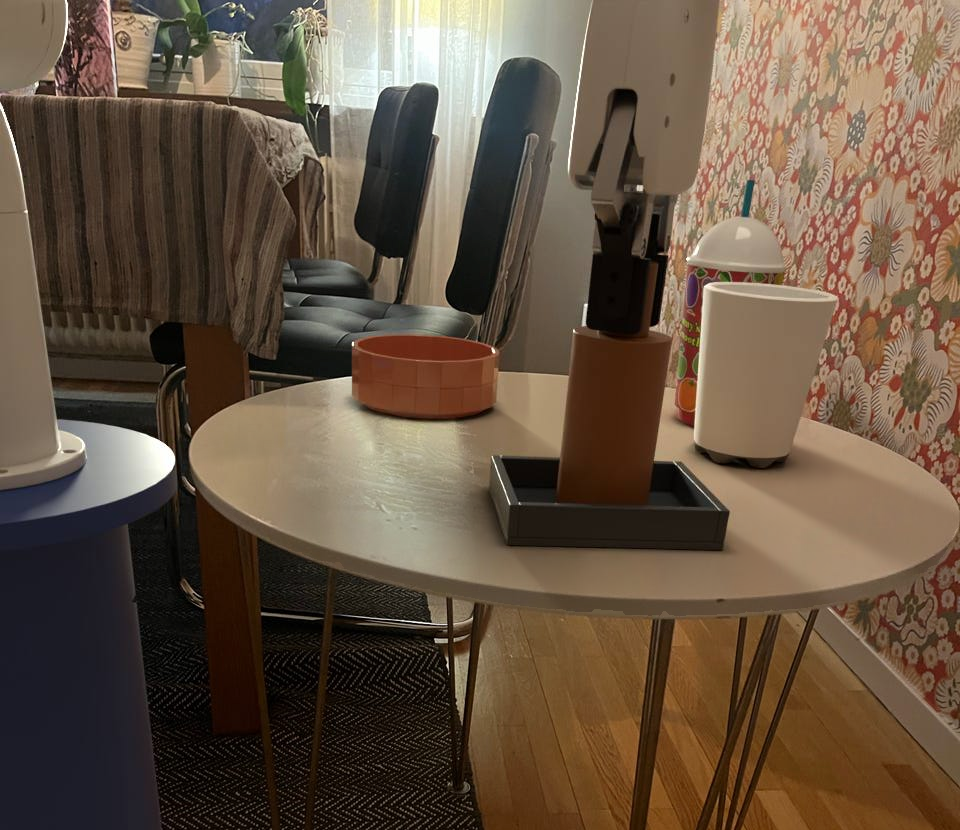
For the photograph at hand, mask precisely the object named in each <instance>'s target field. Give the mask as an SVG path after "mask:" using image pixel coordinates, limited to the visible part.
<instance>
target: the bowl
mask: <svg viewBox="0 0 960 830" xmlns="http://www.w3.org/2000/svg"><path fill="white" fill-rule="evenodd" d="M500 354H501V353H500V351H499V350H498V348H496V347H495V346H492V345H490V344H488V343H485V342H480V341H477V340H472V339H465V338H460V337H454V336H444V335H432V334H416V333H415V334H413V333H412V334H409V333H407V334H401V333H399V334H382V335H380V334H379V335H371V336H365V337H361V338H358V339H356V340H353V341H352V343H351V397H352V398H353V399H354V400H355V401H357V402H358V403H361V404H363V405H364V406H365V407H367V408H368V409H370V410H372V411H374V412H375V411H376V412H379V413H383V414H385V415H390V416H395V417H396V416H397V417H403V418H413V419H429V420H432V419H433V420H443V419H446V420H447V419H460V418H466V417H471V416H475V415H477V414H480V413H482V412H483V411H484V410H487V409H490V408H492V407H493V406H494V405H495V404H496V403H497V396H498V395H497V394H498V383H499V382H498V380H499V368H500Z"/></svg>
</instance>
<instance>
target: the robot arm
mask: <svg viewBox="0 0 960 830" xmlns="http://www.w3.org/2000/svg"><path fill="white" fill-rule="evenodd" d="M720 1H721V0H591V4H590V9H589V14H588V18H587V24H586V30H585V37H584V42H583V48H582V55H581V63H580V68H579V69H580V70H579V76H578V84H577V92H576V99H575V106H574V114H573V120H572V121H573V122H572V129H571V139H570V146H569V152H568V153H569V154H568V163H567V175H568V178H569V180H570V182H571V183H572V185H573V186H574V187H575V188H576V189H578V190H580V191H591V192H590V203H591V207H592V208H593V210H594V220H595V223H594V231H593V239H592V246H591V247H592V258H591V267H590V268H591V269H590V278H589V286H588V296H587V306H586V314H585V326H587V327H588V328H589V329H591V330H598V331H606V332H614V333H621V334H629V335H635V334H637V333H639V332H640V331H641V330H642V325H643V317H644V309H645V302H646V294H647V287H648V279H649V272H650V264H651V261H653V262H656V263H658V270H657V278H656V285H655V292H654V299H653V306H652V313H651V321H650V328H654V327H655V326H657V325H658V324H659V323H660V322H661V321H660V320H661V314H662V307H663V299H664V293H665V285H666V279H667V271H668V270H667V269H668V263H669V255H668V253H669V251H670V247H671V242H672V233H673V225H674V216H675V207H676V205H677V202H678V200H679V195H682V194H684V193H686V192H687V191H688V190H690V189H691V188H692V187H693V185H694V184H695V181H696V178H697V174H698V169H699V166H700V165H699V164H700V161H701V155H702V149H703V143H704V136H705V130H706V123H707V116H708V107H709V102H710V101H709V100H710V93H711V92H710V91H711V85H712V77H713V68H714V60H715V50H716V41H717V38H718V21H719V10H720ZM67 31H68V2H67V0H0V91H15V90H19V89H23V88H28V87H30V86H33V85H34V84H36V83H38V82H39V81H41V80H43V79H44V78H45V77H46V76H47V75H48V74H49V73H50V72H51V71H52V70H53V68H54V67H55V66H56V64H57V63H58V61H59V59H60V57H61V55H62V53H63V50H64V45H65V42H66V37H67ZM15 144H16V143H15V141H14V137H13V134H12V130H11V129H10V125H9V122H8V120H7V116H6V113H5V112H4V108H3V106H2V104H1V103H0V491H5V490H12V489H19V488H25V487H30V486H35V485H40V484H44V483H47V482H51V481H55V480H58V479H60V478H63V477H66V476H68V475H70V474H72V473H74V472H76V471H78V470H79V469H80V468H81V467H82V466H83V465H84V464H85V462H86V460H87V455H86V447H85V444H84V442H83V441H82V440H81V439H80V438H78V437H76V436H75V435H73V434H70V433H67V432H65V431H60V430H58V425H57V412H56V411H57V410H56V405H55V404H56V403H55V397H54V391H53V384H52V375H51V369H50V363H49V362H50V361H49V354H48V348H47V341H46V333H45V326H44V320H43V313H42V311H43V310H42V305H41V297H40V291H39V283H38V277H37V269H36V263H35V262H36V261H35V255H34V248H33V241H32V235H31V228H30V220H29V219H30V218H29V213H28V207H27V200H26V194H25V187H24V180H23V174H22V170H21V165H20V159H19V155H18V153H17V148H16V145H15ZM638 186H642V190H638Z"/></svg>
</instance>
